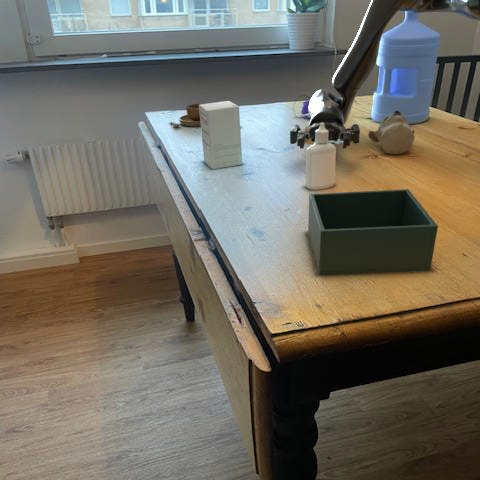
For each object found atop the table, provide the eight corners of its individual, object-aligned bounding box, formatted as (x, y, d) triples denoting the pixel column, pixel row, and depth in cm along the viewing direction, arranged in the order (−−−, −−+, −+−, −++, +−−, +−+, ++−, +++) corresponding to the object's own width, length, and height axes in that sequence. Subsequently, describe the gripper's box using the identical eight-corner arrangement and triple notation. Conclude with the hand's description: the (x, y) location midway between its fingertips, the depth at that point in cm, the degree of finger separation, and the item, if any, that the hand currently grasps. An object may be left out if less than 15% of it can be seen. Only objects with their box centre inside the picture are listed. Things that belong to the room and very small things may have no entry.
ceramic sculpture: (376, 116, 108) (368, 106, 121) (372, 157, 112) (365, 143, 125) (428, 115, 107) (414, 105, 120) (421, 156, 111) (409, 143, 124)
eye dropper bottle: (334, 190, 97) (337, 125, 90) (305, 190, 98) (306, 126, 91) (334, 183, 100) (337, 120, 94) (306, 183, 101) (307, 120, 95)
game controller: (291, 102, 151) (324, 93, 150) (297, 130, 153) (329, 121, 152) (291, 97, 142) (326, 87, 140) (297, 127, 144) (332, 118, 142)
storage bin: (402, 229, 80) (408, 189, 77) (430, 270, 69) (438, 226, 65) (308, 233, 81) (309, 193, 77) (318, 275, 69) (320, 231, 66)
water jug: (398, 110, 151) (411, 1, 135) (440, 119, 139) (459, 0, 124) (359, 119, 145) (368, 5, 129) (399, 128, 133) (414, 4, 118)
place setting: (221, 115, 158) (219, 95, 155) (243, 128, 143) (242, 106, 139) (167, 122, 154) (164, 102, 150) (184, 136, 138) (181, 114, 135)
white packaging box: (233, 157, 119) (229, 100, 112) (242, 165, 113) (239, 105, 106) (203, 161, 118) (197, 103, 111) (211, 170, 112) (206, 109, 105)
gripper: (295, 107, 112) (287, 124, 99) (360, 106, 110) (361, 123, 96) (294, 141, 116) (287, 162, 103) (357, 141, 114) (358, 162, 100)
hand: (323, 143), depth 100 cm, fingers open, 8 cm apart
